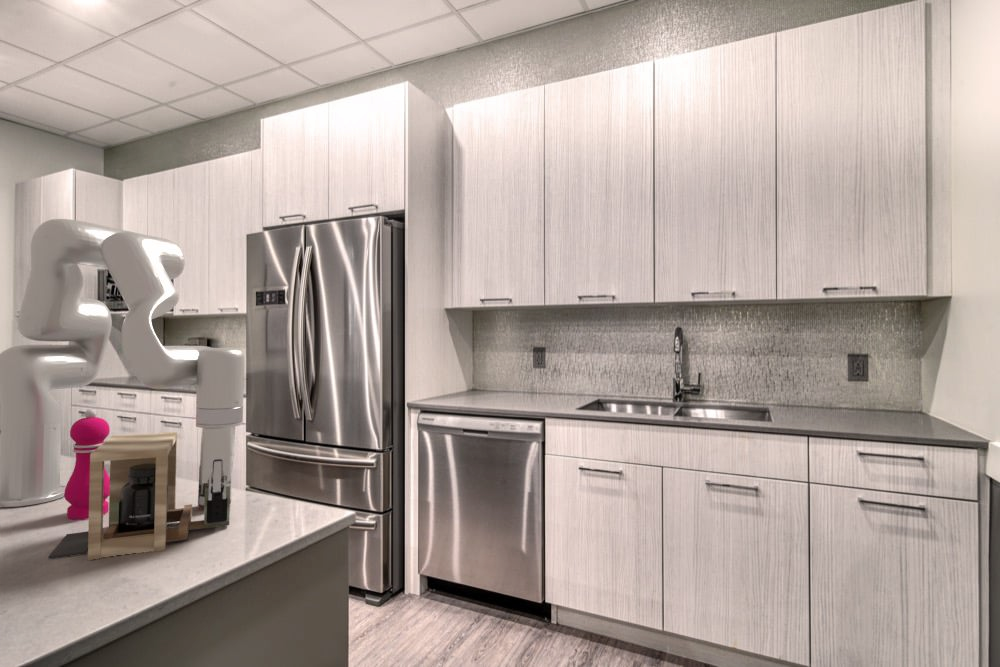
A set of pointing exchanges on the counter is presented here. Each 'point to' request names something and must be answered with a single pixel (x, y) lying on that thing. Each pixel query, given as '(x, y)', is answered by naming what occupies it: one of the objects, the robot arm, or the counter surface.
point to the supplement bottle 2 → (202, 493)
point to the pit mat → (71, 545)
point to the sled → (168, 520)
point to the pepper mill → (85, 464)
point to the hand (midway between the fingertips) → (217, 518)
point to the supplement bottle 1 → (139, 499)
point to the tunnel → (122, 457)
